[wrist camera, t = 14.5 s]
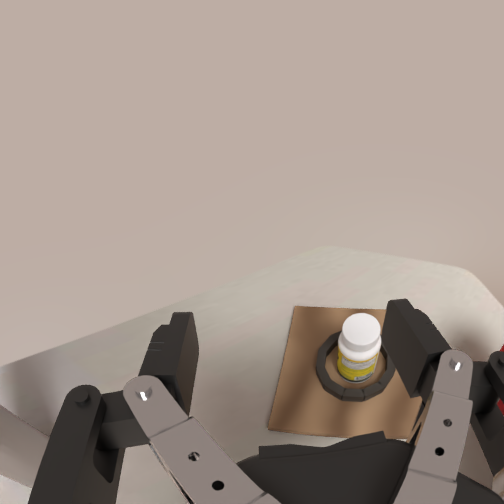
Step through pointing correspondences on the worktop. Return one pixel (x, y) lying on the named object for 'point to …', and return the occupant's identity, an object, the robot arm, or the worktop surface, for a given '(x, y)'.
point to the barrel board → (325, 408)
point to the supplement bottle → (358, 347)
